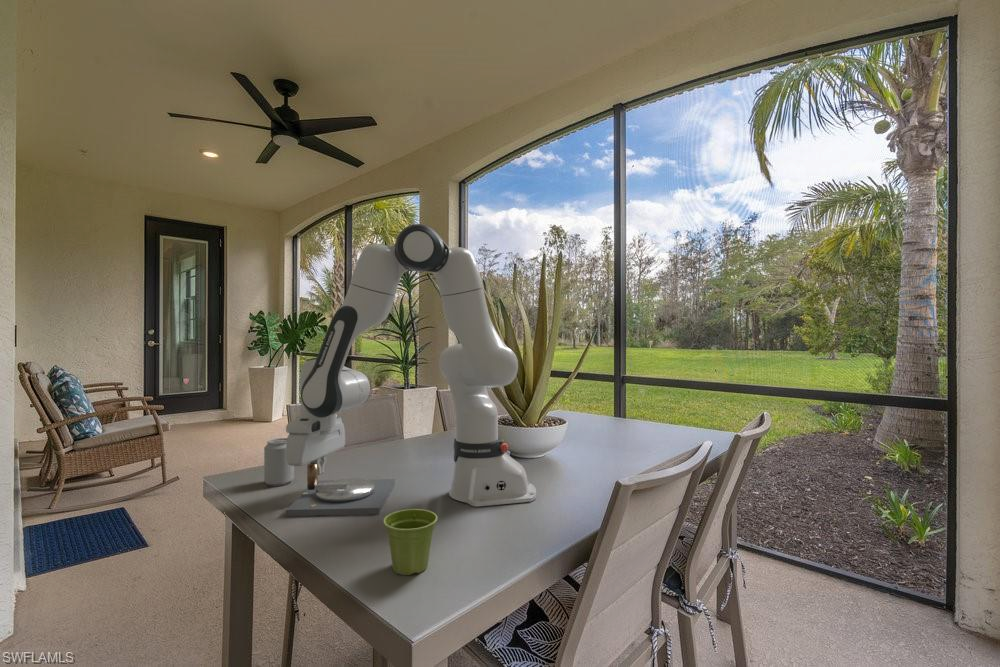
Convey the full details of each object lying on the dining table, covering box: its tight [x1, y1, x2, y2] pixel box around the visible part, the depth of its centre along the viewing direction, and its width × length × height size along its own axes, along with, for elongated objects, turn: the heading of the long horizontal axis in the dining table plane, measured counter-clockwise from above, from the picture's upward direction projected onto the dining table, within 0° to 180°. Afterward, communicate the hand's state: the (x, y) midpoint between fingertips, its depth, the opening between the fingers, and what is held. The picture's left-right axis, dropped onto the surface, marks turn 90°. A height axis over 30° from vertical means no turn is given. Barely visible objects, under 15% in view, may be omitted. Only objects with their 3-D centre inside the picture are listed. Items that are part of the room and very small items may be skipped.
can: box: [263, 437, 295, 487], centre depth 128 cm, size 8×8×12 cm
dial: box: [306, 462, 374, 502], centre depth 116 cm, size 16×14×7 cm
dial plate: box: [285, 478, 396, 517], centre depth 116 cm, size 21×21×2 cm
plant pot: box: [383, 508, 438, 576], centre depth 82 cm, size 9×9×9 cm
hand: (318, 474), depth 118 cm, fingers closed
